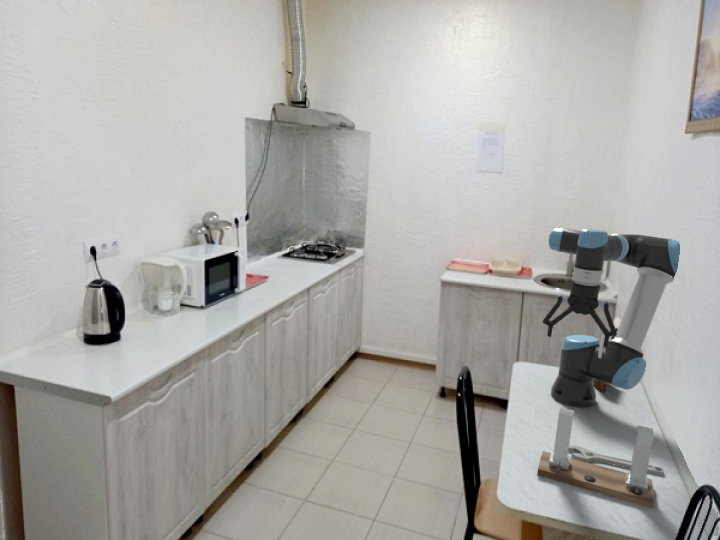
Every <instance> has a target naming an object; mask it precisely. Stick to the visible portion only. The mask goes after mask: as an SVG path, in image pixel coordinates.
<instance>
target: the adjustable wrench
mask: <svg viewBox="0 0 720 540" xmlns="http://www.w3.org/2000/svg"><path fill="white" fill-rule="evenodd" d="M569 452H571V456H570V458H572V459H576V460H579V461H583V462H587V463H591V462H599V463H604V462H605V464H608V463H610V464H609V465H612V464H615V465H614V466H617V465H620V466H619V467H621V466H624V467H623V468H626V467H628V468H627V469H630V467H631V461H632V460H629V459H623V458H619V457H616V456H615V457H614V456H609V455H606V454H605V455H604V454H600V453H598V452H594V451H592V450H589V449H587V448H584V447H583V446H579V445H574V444H573V445H569V449H568V453H569ZM648 473H649V474H654V475H656V476H657V475H658V476H662V475H664V473H665V470H664V468H663V467H660V466H658V465H657V466H656V465H652V464H648V470H647V474H648Z"/></svg>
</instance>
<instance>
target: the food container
mask: <svg viewBox="0 0 720 540" xmlns="http://www.w3.org/2000/svg"><path fill="white" fill-rule="evenodd" d="M593 383H594V387H595V388H596V389H595V390H597V389H598V390H597V391H599V390H600V392H602V393H605V392H607V389H608V386H609V384H608V383H605V382H603V381H600V380H597V379H594V378H593Z"/></svg>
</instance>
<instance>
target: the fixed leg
mask: <svg viewBox="0 0 720 540" xmlns="http://www.w3.org/2000/svg"><path fill="white" fill-rule="evenodd" d="M654 437H655V433H654V428H652V427H647V426H643V425H639V424H637V428H636V434H635V440H634V446H633V449H632V450H633V451H632V456H631V460H630V461H631V467H630V468H629V472H625V473H626V476H625V488H628V489H634V490H635V492H636V493H638V491H641V492H643V493H647V491H648V483H647V478H648V477H647V476H648V475H647V474H648V472H647V470H648V465H650V457H651V452H652V446H653V442H654Z"/></svg>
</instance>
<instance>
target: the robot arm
mask: <svg viewBox="0 0 720 540" xmlns="http://www.w3.org/2000/svg"><path fill="white" fill-rule="evenodd" d="M679 241H680V240H677V239H672V238H664V237H657V236H651V235H644V234H627V233H626V234H619V233H613V234H608V232H607V231H606V230H603V229H602V230H601V229H594V228H583V229H581V230H577V229H569V228H564V227H562V228H561V227H556V228H553V230H551V232H550V234H549V235H548V246H549V248H550V250H552V251H554V252H558V253H564V254H570V255H575V261H574V262H575V263H574V267H573V274H572V280H573V281H572V282H571V285H570V286H571V287H570V293H569V296H564V295H563V294H559V295H558V298H557V301H556V302H555V303H554V305H553V306H552V307H551V309H550V310H549V312H548V313H547V314H546V315H545V316H544V318H543V320H542V323H543V324H544V325H547V328H548V329H547V334H546V335H547V337H548V338H550V343H549V349H550V350H552V349H553V347H554V340H555V336H556V335H555V333H556V328H557V326H556V324H558V323H559V322H560V321H562V320H563V319H564V318H566V317H567V316H568V315H569V314H571V313H574V314H577V315H580V314H581V315H583V316H587V315H590V316H591V318H592V319H593V320H594V322H595V323H596V325H597V326H598V327H599V329H600V330H601V332H602V333H603V334H601V337H600V339H598V338H597V337H595V336H592V335H587V334H572V335H568V336H566V337H565V338H564V339H563V342H562V344H561V352H560V361H559V367H558V368H559V369H558V375H557V377H556V378H555V380H554V382H553V384H552V386H551V390H550V396H551V398H553V399H554V400H555V401H557V402H559V403H561V404H564V405H567V406H570V407H577V408H588V407H592V406H594V405H595V404H596V400H597V393H596V389H595V388H594V383H593V378H594V379H597V380H600V381H603V382H605V383H608V385H611V386H613V387H614V388H619V389H623V390H632V389H633V388H635V387H636V386H637V385H638V384H639V383H640V382H641V380H642V379H643V376H644V375H645V372H646V367H647V360H645V359H644V352H643V350H642V346H643V343H644V341H645V339H646V336H647V334H648V331H649V330H650V329H649V328H650V327H651V324H652V321H653V318H654V315H655V313H656V311H657V308H658V306H659V304H660V301H661V298H662V296H663V294H664V292H665V288H666V287H667V284H668V285H669V284H670V283H673V282H674V280H675V278H674V276H675V274H676V272H677V269H678V262H679V255H680V244H679ZM611 261H612V262H617V263H621V264H623V265H626V266H629V267H633V268H636V272H637V273H638V275H639V276H638V279H637V281H636V284H635V286H634V288H633V291H632V293H631V296H630V299H629V301H628V302H627V306H626V307H625V310H624V313H623V315H622V318H621V321H620V323H619V325H618V328H617V329H616V327H615V326H616V325H615V324H614V320H613V319H612V316H611V313H610V310H609V308H610V307H609V305H610V304H609V301H599V293H600V287H601V286H600V284H601V280H602V273H603V269H604V262H611ZM671 276H672V277H671ZM675 277H676V276H675ZM566 302H567V303H568V305H569V306H568V307H566V309H564V310H563V311H562V312H560V313H559V314H558V315H557V316H555V317H554V318H553V319H552V320H550V319H551V318H552V317H553V316H554V315H555V313H556V312H557V310H558V309H559V308H560V307H561V305H562V304H564V303H566ZM598 307H600V309H601V311H603V313H604V316H605V319H606V321H607V324H608V327H609V330H608V328H607V326H606V325H605V324H604V322H603V321H602V319H601V318H600V316H599V315H598V313H597V311H595V310H596V309H597V308H598ZM610 337H613V338H612V339H610Z"/></svg>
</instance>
